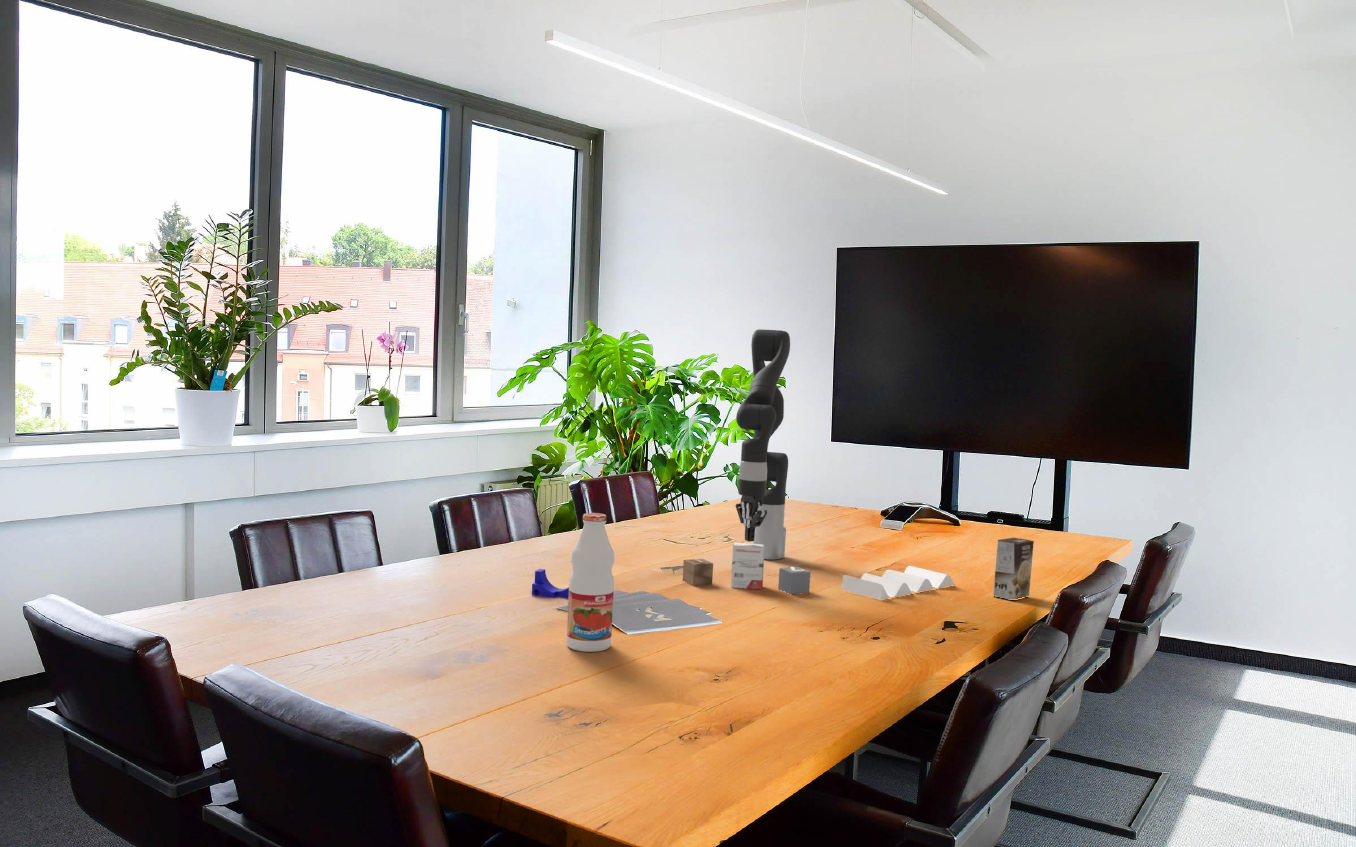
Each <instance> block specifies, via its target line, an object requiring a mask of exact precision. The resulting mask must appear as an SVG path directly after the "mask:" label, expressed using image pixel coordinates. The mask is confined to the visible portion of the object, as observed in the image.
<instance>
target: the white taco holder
mask: <svg viewBox="0 0 1356 847" xmlns="http://www.w3.org/2000/svg"><path fill="white" fill-rule="evenodd" d="M951 585H955V583H954V581H953V579H952V577H951V575H949V574H947V573H942V572H938V571H934V570H929V569H926V568H920V567H917V566H913V565H908V566H907V567H906V569H905V570H904V571H903V572H901V571H898V570H893V569H890V568H889V569H886V570H885V571H884V572H883V574H882V576H880V575H875V574H871V573H867V572H865V573H863V574H862V575H861V577H860V578H859V577H855V576H852V575H848V574H847V575H846V574H843V576H842V589H841V590H845V591H850V592H852V593H851V594H853V593H857V594H862V595H866V596H868V597H873V598H877V599H880V600H882V599H888V598H890V597H899V596H902V595H907V594H912V592H911V591H914V592H916V593H917V592H920V591H926V590H931V589H934V588H933V587H935V588H943V587H945V586H951ZM845 591H844V592H845ZM899 598H900V597H899Z"/></svg>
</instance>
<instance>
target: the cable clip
mask: <svg viewBox="0 0 1356 847" xmlns="http://www.w3.org/2000/svg"><path fill="white" fill-rule="evenodd" d="M531 596H536V597H544V598H553V599H554V598H556V597H557V598H565V599H568V598H569V586H568V587H567V588H559V587H557V586H554V585H553V584H552V583H551V582H550V581H549V579H548V577H547V574H546V569H545V568H539V569H536V570H535V571H534V582H533V583H532V584H531Z"/></svg>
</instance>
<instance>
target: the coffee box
mask: <svg viewBox="0 0 1356 847" xmlns="http://www.w3.org/2000/svg"><path fill="white" fill-rule="evenodd" d="M1034 544H1035V543H1034V540H1031V539H1025V538H1019V537H1008V538H1001V539H997V546H996V559H995V570H994V571H995V572H994V580H993V581H994V583H993V594H992V596H993V595H994V596H997V597H1002V598H1006V599H1018V598H1022V597H1026V596H1029V597H1030V589H1031V588H1030V587H1031V578H1032V569H1033V568H1032V565H1033V554H1034V553H1033V552H1034Z"/></svg>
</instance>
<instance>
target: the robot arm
mask: <svg viewBox="0 0 1356 847" xmlns="http://www.w3.org/2000/svg"><path fill="white" fill-rule="evenodd" d="M750 345H751V360H752V361H751V362H752V371H753V378H752V380H751V384H750V387H749V392H748V395H747V396H746V398H745V399H744V400H743V401H742V402H741V403H740V405H739V407H738V409H737V411H736V417H735V420H736V424H737V426H738V427H739V428H740V429H742V430H748V431H753V432H754V433H753V435H754V437H753V438H747V439H744V440H743V441H742V442H741V454H740V465H739V469H738V470H739V472H738V488H737V489H738V491H737V492H738V495H739V496H741V497H740V502H739V503H735V509H736V511H737V514H738V515H737V516H738V519H739V521H740V524H743V527H744V541H745V542H749V543H750V542H753V543H752V544H762V545H764V560H781V559H784V558H785V552H786V539H787V538H786V536H787V527H785V526H784V524H785V508H786V489H787V479H788V472H789V471H788V470H789V457H788V455H787V454H786V453H784V452H775V451H774V452H773V451H768V450H769V449H768V448H769V444H770V438H771V437H772V436H773V435H774V433H775V432H776V431H777V430H778V428H779V427H780V426H781V424H782V422H783V420H784V417H785V404H784V403H785V400H784V399H785V398H784V396H783V393H782V391H781V390H780V389H779V387H778V386H777V385H778V382H779V379H780V378H781V375H782V372H783V371H784V368H785V366H786V363H787V361H788V358H789V356H790V353H791V352H790V350H791V336H790V334H789V332H788V331H785V330H778V329H760V328H759V329H756V330H754V332H753V334H752V336H751V344H750ZM765 362H769V363H767V365H766V363H765ZM767 482H774V483H775V485H774V486H773V487H772V488H769V489H767Z"/></svg>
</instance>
